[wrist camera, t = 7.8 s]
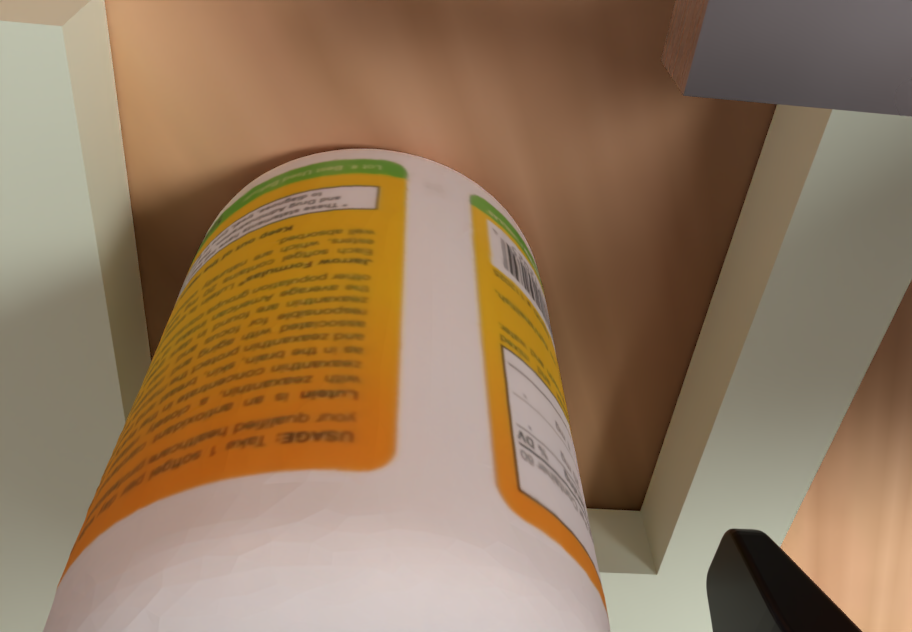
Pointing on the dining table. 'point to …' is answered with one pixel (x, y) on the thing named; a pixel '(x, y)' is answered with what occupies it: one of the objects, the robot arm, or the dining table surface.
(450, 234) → the supplement bottle
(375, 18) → the dining table surface
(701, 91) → the door lever handle
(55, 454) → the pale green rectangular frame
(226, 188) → the dining table surface
